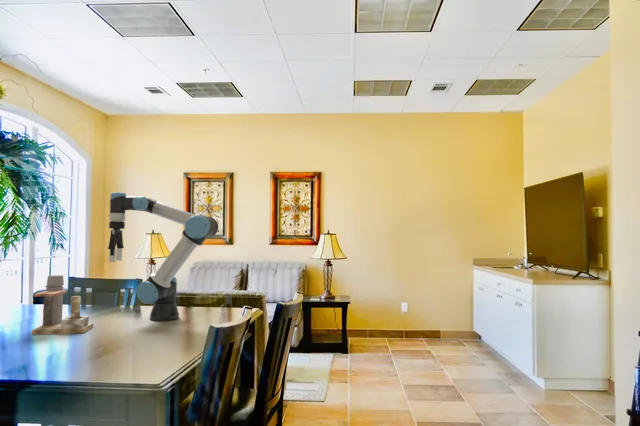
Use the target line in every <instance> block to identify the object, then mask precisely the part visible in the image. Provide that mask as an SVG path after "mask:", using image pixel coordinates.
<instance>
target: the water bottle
mask: <svg viewBox="0 0 640 426" xmlns="http://www.w3.org/2000/svg"><path fill="white" fill-rule="evenodd" d="M64 285H65V284H64V275H63V274H53V275H47V279H46V285H45V286H44V288H45V289H46V290H45V291H56V290H64ZM63 299H64V294H61V295H58V296H52V299H51V320H50V324H61V323H62V319H63V306H64V305H63V302H64V301H63ZM43 309H44V307H43ZM43 309H42V310H43Z"/></svg>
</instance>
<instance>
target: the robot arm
mask: <svg viewBox="0 0 640 426" xmlns="http://www.w3.org/2000/svg"><path fill="white" fill-rule="evenodd" d="M109 207H110V208H109V214H108V217H109V223H108V224H109V225H108V228H109V229H111V230H110V237H109V243H108V247H107V250H109V258H108V259H109V260H108V261H109V263H116V261H122V260H123V257H122V256H123V249H124V248H125V247H124V240H123V230H124V229H125V228H126V227H125V226H126V222H125V221H126V211H138V212H146V213H148V214H149V213H150V214H152V215H155V216H158V217H160V218H164V219H165V220H169V221H171V222H174V223H177V224H180V225H183V226H184V229H183V230H182V232H181V233H182V237H181V238H180V240H179V241H178V242H177V244H176V245H175V246H174V247H173V249H172V251H171V252H170V253H169V255H168V256H167V257H166V259H165V260H164V261H163V263H162V264H161V266H160V267H158V269H157V271H156V272H152V273H150V275H149V276H148V278H147V279H146V280H145V281H142V282H141V283H139V284H138V286H137V288H136V295H137V299H138V300H139V301H140V302H141V303H142V304H145V305H152V304H153V306H152V309H151V311H150V313H149V320H151V321H156V322H157V321H158V322H160V321H161V322H164V321H165V322H166V321H174V320H178V319H179V318H180V313H179V310H178V306H177V290H178V289H177V288H178V287H177V285H178V280H177V277H175V276H176V275H177V274H178V272H179V270H180V269H181V268H182V267H183V265H184V264H185V262H187V260H188V259H189V257H190V256H191V254H192V253H193V252H194V250H195V249H196V248H197V247H199V246H200V247H201V246H202V245H203V243H204V242H205V240H206V239H210V238H213V237H214V236H215V235H217V234H218V231H219V223H218V221H217V220H216V219H215V218H214V217H211V216H206V215H202V214H198V215H197V214H194V213H191V212H188V211H186V210H184V209H180V208H178V207H175V206H172V205H170V204H166V203H163V202H161V201H157V199H154V198H148V197H146V196H142V195H136V196H135V195H134V196H133V195H132V196H131V195H129V196H127V194H126V193H125V192H121V191H120V192H117V191H115V192H114V191H113V192H111V193H110V199H109Z"/></svg>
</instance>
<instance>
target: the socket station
mask: <svg viewBox="0 0 640 426" xmlns="http://www.w3.org/2000/svg"><path fill="white" fill-rule="evenodd" d="M66 293H67V290H64V289H63V290H56V291H46V290H43V291H40V292H36V293H34V294H33V297H34V298H35V297H43V308H44V309H42V314H43V315H42V324H41V325H39V326H38V327H35V328H34V329H31V335H33V336H34V335H57V334H59V335H60V334H62V335H63V334H64V335H65V334H86V333H87V332H88V331H90V330H91V329H93V328H94V322H89V321H90V315H80V319H70V315H69V316H66V317H64V318H62V323H61V324H50V320H51V299H52V296H58V295H61V294H63V295H64V294H66Z"/></svg>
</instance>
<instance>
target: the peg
mask: <svg viewBox="0 0 640 426" xmlns="http://www.w3.org/2000/svg"><path fill="white" fill-rule="evenodd" d="M81 297H82V296H80V295H74V296H73V295H72V296H71V297H70V315H69V316H70V319H80V316H81Z"/></svg>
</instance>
